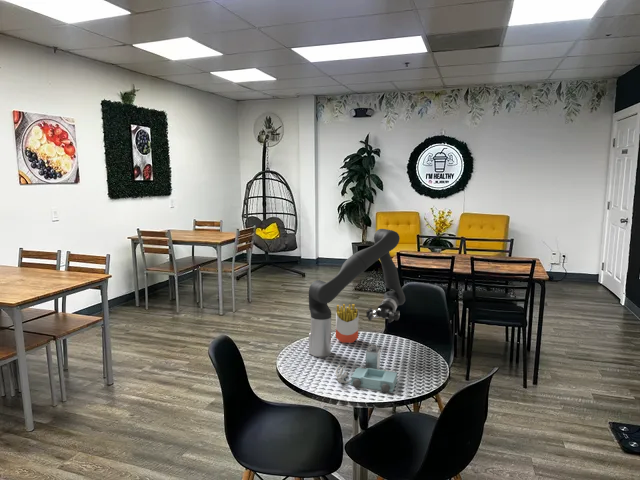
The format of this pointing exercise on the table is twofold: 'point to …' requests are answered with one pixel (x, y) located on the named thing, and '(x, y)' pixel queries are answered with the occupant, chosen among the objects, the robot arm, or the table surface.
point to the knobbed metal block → (373, 357)
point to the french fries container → (347, 324)
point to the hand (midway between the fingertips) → (379, 319)
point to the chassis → (374, 379)
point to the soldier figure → (341, 377)
